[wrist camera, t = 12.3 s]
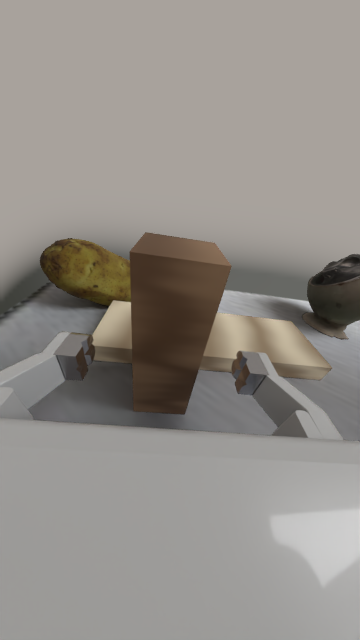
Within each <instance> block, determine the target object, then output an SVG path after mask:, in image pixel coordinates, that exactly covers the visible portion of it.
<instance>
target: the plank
mask: <svg viewBox="0 0 360 640" xmlns="http://www.w3.org/2000/svg"><path fill="white" fill-rule="evenodd" d="M92 336H93V340H94V341H93V342H92V344H93V345H94V346H95V356H94V360H96V361H108V362H119V363H131V364H132V329H131V302H123V301H115V300H113V302H112V303H111V305H110V306H109V308H108V310H107V311H106V313H105V315H104V316H103V318H102V320H101V321H100V323H99V325H98V326H97V328H96V330H95V331H94V333H93V335H92ZM238 351H249V352H260V353H266V354H267V356H268V357H269V359H270V361H271V363H272V365H273V367H274V368H275V370H276V372H277V374H278V376H280V377H291V378H302V379H314V380H321V379H322V378H323V377H324V376H325V375H326V374H327V373H328V372H329V371H330V370H331V369H332V367H331V366H330V365H329V363H328V362H327V361H326V360H325V359H324V358H323V357H322V356H321V354H320V353H319V352H318V351H317V350H316V349H315V348H314V346H313V345H312V344H311V343H310V342H309V341H308V340H307V338H306V337H305V336H304V335H303V334H302V333H301V332H300V330H299V329H298V328H297V327H296V326H295V325H294V324H293V323H292V321H285V320H276V319H268V318H259V317H251V316H242V315H234V314H225V313H217V314H216V317H215V320H214V323H213V326H212V329H211V333H210V336H209V339H208V342H207V345H206V348H205V351H204V355H203V358H202V361H201V364H200V367H199V370H211V371H222V372H232V370H231V368H232V363H233V361H234V360H235V359H237V356H236V354H237V352H238Z"/></svg>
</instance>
